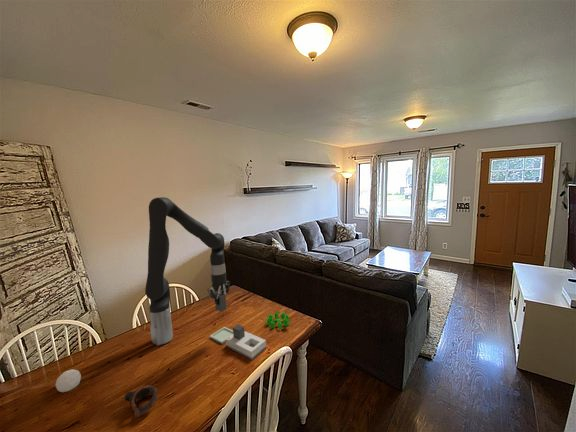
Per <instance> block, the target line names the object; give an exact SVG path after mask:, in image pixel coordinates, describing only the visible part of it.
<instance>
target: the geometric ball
mask: <svg viewBox="0 0 576 432" xmlns="http://www.w3.org/2000/svg"><path fill="white" fill-rule="evenodd" d="M81 378H82V375H81V372H80V371H79V370H77V369H74V368H73V369H69V370H66V371H64V372H62V374H61V375H59V376H58V377H57V379H56V381H55V388H56V390H57V391H58V392H60V393H65V392H69V391H72V390H73V389H75V388H77V386H78V385H80V384H81V383H80V382H81Z"/></svg>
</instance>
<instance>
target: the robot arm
mask: <svg viewBox="0 0 576 432" xmlns="http://www.w3.org/2000/svg"><path fill="white" fill-rule="evenodd" d="M167 217H169V218H170V219H173V220H174V221H175V222H177V223H178V224H179V225H180V226H181V227H182V228H184V229H185V230H186V231H187V233H190V234H191V235H193V236H195V238H198V239H199V240H200V241H201V242H202V243H203V244H204V245H206V246H207V247H208V248H209V249H211V253H210V256H209V260H210V261H209V262H210V278H211V283H212V284H211V286H210V288H208V289H207V293H208V295H209V296H210V298H211V299H213V300H214V305H215V304H216V305H219V294H220V293H222V294H225V295H227V294H228V293H229V292H230V287H231V282H232V281H229V280H227V270H226V269H227V268H226V263H225V238H224V236H223V235H222V234H221V233H220V232H219V233H218V232H217V233H213V232H211V231H210V230H209V228H208V227H207V226H206V225H205V224H204V223H202V222H200V221H198V220H197V219H195V218H194V217H192V216H191V215H189V214H188V213H187V212H185V211H184V210H183V209H181V208H180V207H179V206H178V205H177V204H176V203H175V202H174V201H172V200H171V199H170V198H169V197H165V196H164V197H155V198H152V200H150V202H149V204H148V219H149V220H148V221H149V231H148V232H149V236H148V237H149V238H148V250H147V251H148V252H147V256H148V257H147V276H146V283H145V290H144V291H145V292H144V293H145V296H146V297H147V298H148V299H149V300H150V303H149V313H150V324H149V329H150V336H151V343H152V344H154V345H156V346H161V345H165V344H167V343H169V342H170V341H171V340H172V339H173V338H174V332H173V324H172V314H171V313H172V312H171V304H170V302H171V290H170V283H169V281H168V279H166V278H165V277H164V276H165V270H166V266H167V263H168V259H169V253H170V239H169V238H170V237H169V235H168V232H167V230H166V229H167V228H166V227H167V225H166V224H167ZM216 295H217V296H216Z"/></svg>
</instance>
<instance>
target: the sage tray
mask: <svg viewBox="0 0 576 432" xmlns="http://www.w3.org/2000/svg"><path fill="white" fill-rule="evenodd" d="M232 334H233V329H230V328H228V327H227V326H223V327H222V328H219V330H216V331H215V332H214V333H212V334H210V335H209V339H211V340H213V341H216V343H219V344H221V345H223V344H226V338H228V337H229V336H231V335H232Z"/></svg>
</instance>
